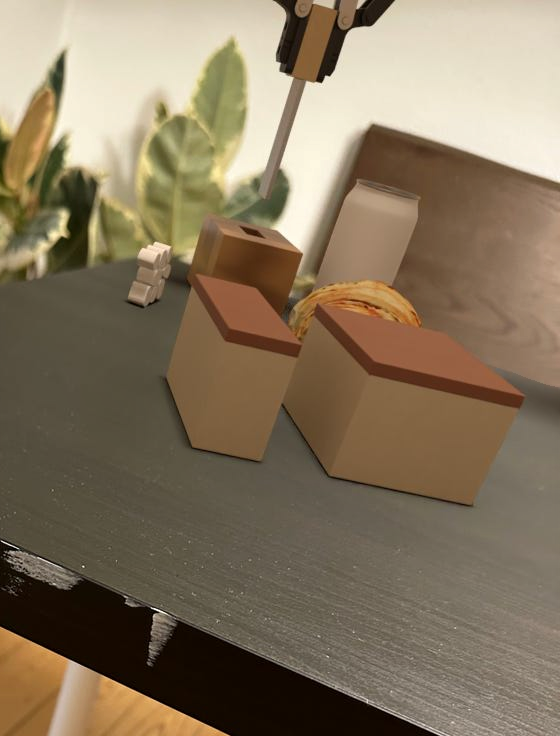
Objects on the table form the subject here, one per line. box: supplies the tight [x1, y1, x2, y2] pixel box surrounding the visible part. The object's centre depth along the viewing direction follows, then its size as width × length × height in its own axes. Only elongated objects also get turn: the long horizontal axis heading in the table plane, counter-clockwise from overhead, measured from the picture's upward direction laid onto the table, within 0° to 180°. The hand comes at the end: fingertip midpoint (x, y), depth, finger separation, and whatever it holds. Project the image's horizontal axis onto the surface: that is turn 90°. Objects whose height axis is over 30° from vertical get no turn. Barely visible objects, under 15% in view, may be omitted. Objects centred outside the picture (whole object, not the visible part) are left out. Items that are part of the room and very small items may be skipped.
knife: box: [257, 3, 338, 201], centre depth 79 cm, size 2×3×14 cm, turn 2°
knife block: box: [186, 212, 304, 319], centre depth 86 cm, size 7×10×6 cm
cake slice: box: [165, 274, 302, 462], centre depth 56 cm, size 4×12×7 cm, turn 2°
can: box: [311, 178, 422, 293], centre depth 85 cm, size 6×6×12 cm
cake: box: [282, 303, 526, 506], centre depth 58 cm, size 9×12×7 cm
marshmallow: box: [127, 241, 174, 308], centre depth 78 cm, size 5×1×4 cm, turn 156°
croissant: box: [287, 279, 422, 345], centre depth 73 cm, size 21×10×8 cm, turn 163°
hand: (301, 76), depth 78 cm, fingers closed on knife, 2 cm apart
